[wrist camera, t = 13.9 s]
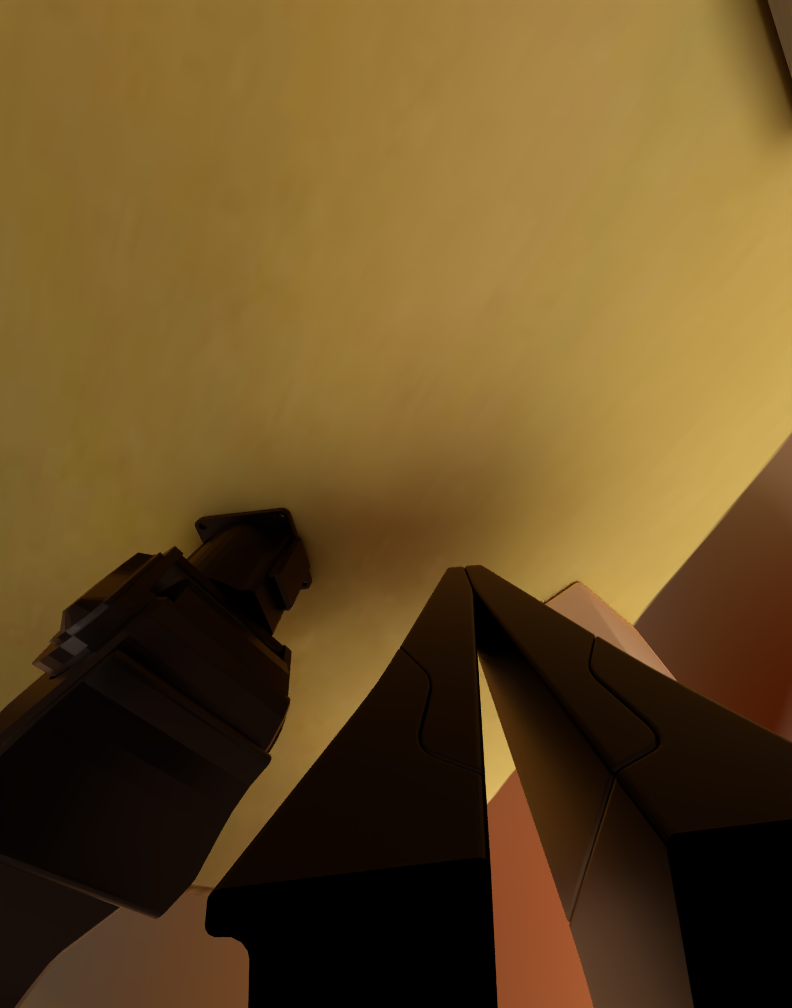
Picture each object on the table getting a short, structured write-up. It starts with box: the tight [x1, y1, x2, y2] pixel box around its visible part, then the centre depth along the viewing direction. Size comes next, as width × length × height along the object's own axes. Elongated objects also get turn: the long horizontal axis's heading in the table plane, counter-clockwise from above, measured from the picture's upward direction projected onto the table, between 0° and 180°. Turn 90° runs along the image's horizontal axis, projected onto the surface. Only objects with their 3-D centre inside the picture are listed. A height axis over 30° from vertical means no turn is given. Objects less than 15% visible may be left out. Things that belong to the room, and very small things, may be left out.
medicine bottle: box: [545, 582, 676, 681], centre depth 19 cm, size 7×7×12 cm
